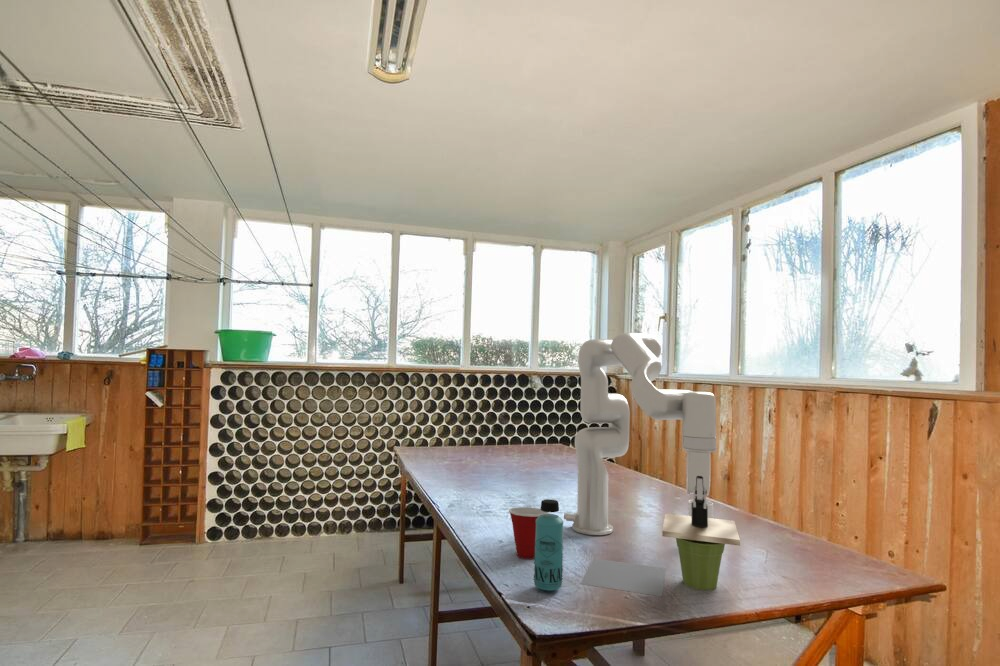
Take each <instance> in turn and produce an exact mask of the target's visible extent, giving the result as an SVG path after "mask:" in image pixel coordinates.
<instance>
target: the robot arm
mask: <svg viewBox="0 0 1000 666" xmlns="http://www.w3.org/2000/svg"><path fill="white" fill-rule="evenodd" d="M661 354H662V347H661V343H660V340H658V338H657V337H656V336H655V335H653V334H651V333H641V332H622V333H619V334H617V335H615V336H614V337H613V339H610V338H594V339H589V340H587V341H586V340H585V342H583V343H582V344H581V346H580V347H579V350H578V356H577V357H578V358H577V360H578V361H577V363H578V364H577V365H578V369H579V374H580V416H581V418H582V421H584V422H585V423H587V424H588V423H589V424H608V427H607V426H603V427H602V426H595V427H593V426H591V427H584V428H582V429H580V430H578V431H577V432H576V434H575V437H574V448H575V453H576V460H577V461H576V462H577V464H576V465H577V494H576V495H577V500H576V502H577V503H576V504H577V507H576V509H577V510H576V512H574V513H571V512H570V513H568V512H564V514H563V520H565V521H567V522H573V523H572V525H571V526H572V530H573V531H575V532H576V533H578V534H583V535H589V536H605V535H610V534H611V533H613V531H614V526H613V525H612V524H610V523H609V472H608V471H609V470H608V469H607V466H606V465H605V463H604V461H603V459H604V458H618V457H622V456H625V454H627V452H628V450H629V445H630V424H631V423H630V419H631V417H630V416H631V413H630V412H631V411H630V406H629V402H628V400H627V398H625V396H624V395H622V394H620V393H614V392H612V393H611V392H609V379H608V376H607V374H606V372H605V371H604V369H603V368H602V367H608V368H609V367H610V368H611V367H612V368H624V369H625V370H626V371H627V372H628V373H629V375H630V376H631V377H632V379H631V380H632V381H631V392H632V393H631V394H632V397H633V399H634V401H635V402H636V404H637V405H638V406H639V407H640V409H641V411H642V412H643V413H644V414H646V415H647V416H648V417H649V418H650V419H653V420H657V421H666V420H670V421H671V420H676V421H677V420H678V421H679V420H682V421H681V422H682V424H681V425H682V430H681V433H682V438H681V439H682V440H681V441H682V451H683V450H684V451H686V494H687V495H690V493H692V497H693V498H692V500H693V507H692V524H693V525H696V526H705V527H706V526H707V508H706V501H707V496H709V494H710V488H711V474H712V473H711V471H712V469H711V467H712V464H711V463H712V458H711V457H712V455H711V454H712V453H716V452H717V400H716V396H715V395H714V393H712V392H708V391H693V390H689V389H669V388H668V389H664V388H663V389H658V388H657V387H656V386H654V384H653V383H652V382H653V381H655V380H656V379H657V378H658V376H659V375H660V373H661V371H662V363H661V361H660V360H659V357H660V356H661Z"/></svg>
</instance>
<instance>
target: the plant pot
mask: <svg viewBox="0 0 1000 666" xmlns="http://www.w3.org/2000/svg"><path fill="white" fill-rule="evenodd" d="M675 540H676V546H677V548H678V555H679V562H680V569H681V576H682V582H683V584H684V585H685V586H687V587H689V588H691V589H695V590H701V591H712V590H715V589H716V588H717V586H718V580H719V574H720V568H721V564H722V558H723V557H722V556H723V554H724V551H725V547H726V546H725V545H726V544H722V543H714V542H705V541H697V540H689V539H680V538H675Z"/></svg>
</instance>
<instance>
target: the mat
mask: <svg viewBox="0 0 1000 666" xmlns="http://www.w3.org/2000/svg"><path fill="white" fill-rule="evenodd" d="M665 577H666V567H659V566H652V565H645V564H644V565H643V564H637V563H629V562H623V561H615V560H607V559H602V558H594V557H593V559H592V560H591V563H590V564H589V566H588V569H586V572H585V574H584V576H583V577H582V580H581V582H580V585H585V586H591V587H598V588H604V589H609V590H610V589H611V590H616V591H617V590H618V591H624V592H630V593H636V594H642V595H643V594H644V595H650V596H656V597H662V598H663V591H664V586H665V585H664V584H665Z"/></svg>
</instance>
